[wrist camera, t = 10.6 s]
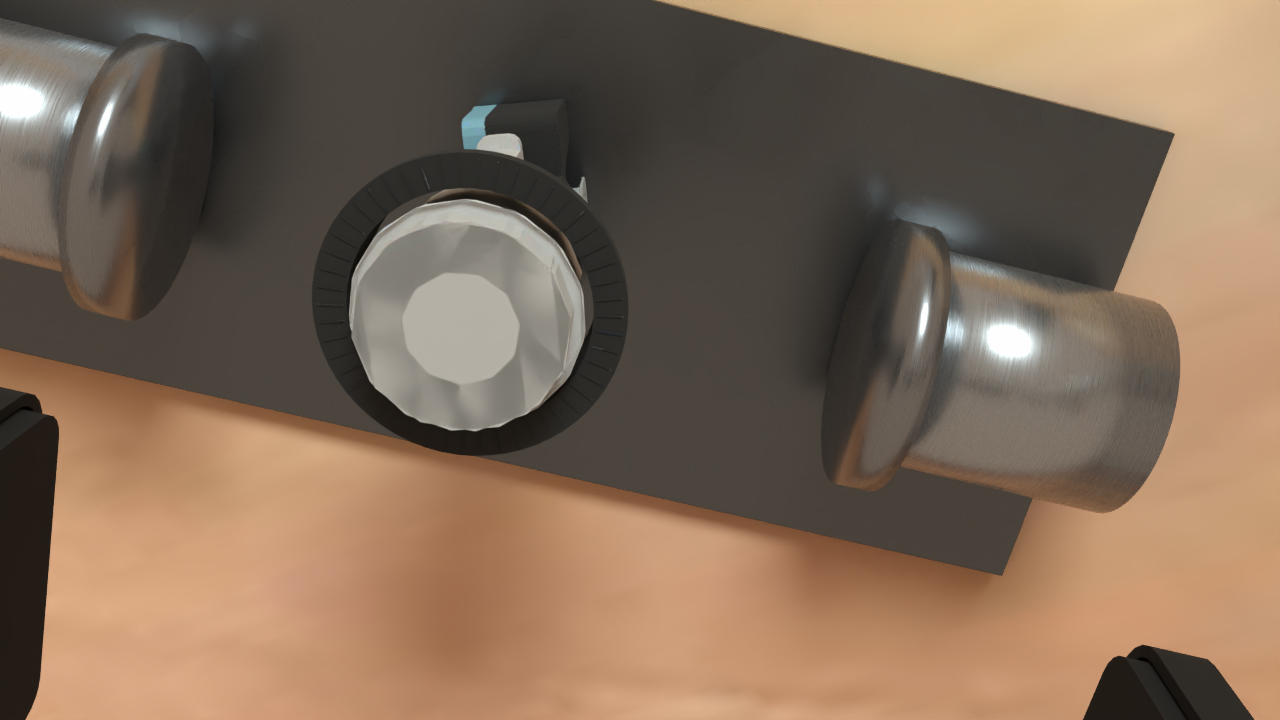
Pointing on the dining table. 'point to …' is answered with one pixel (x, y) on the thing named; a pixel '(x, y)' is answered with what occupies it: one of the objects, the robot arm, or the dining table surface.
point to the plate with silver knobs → (620, 243)
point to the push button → (474, 290)
